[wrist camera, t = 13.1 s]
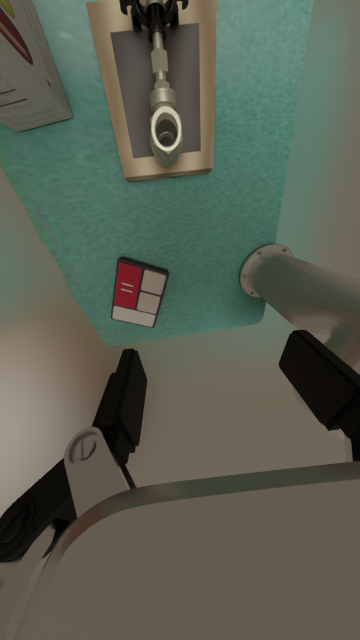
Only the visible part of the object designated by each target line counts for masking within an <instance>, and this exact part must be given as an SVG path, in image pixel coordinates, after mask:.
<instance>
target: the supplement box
mask: <svg viewBox="0 0 360 640" xmlns="http://www.w3.org/2000/svg"><path fill="white" fill-rule="evenodd" d="M72 117H73V114H72V111H71V109H70V106H69V103H68V100H67V98H66V95H65V92H64V89H63V86H62V84H61V81H60V78H59V75H58V73H57V70H56V67H55V64H54V61H53V59H52V56H51V53H50V50H49V47H48V45H47V42H46V39H45V36H44V33H43V31H42V28H41V25H40V22H39V20H38V17H37V14H36V11H35V9H34V6H33V4H32V1H31V0H0V122H2V123H3V124H5V125H7V126H9V127H10V128H12V129H14V130H16V131H18V132H20V131H24V130H28V129H32V128H35V127H39V126H43V125H46V124H50V123H54V122H58V121H62V120H66V119H69V118H72Z"/></svg>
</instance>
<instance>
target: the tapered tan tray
mask: <svg viewBox="0 0 360 640" xmlns="http://www.w3.org/2000/svg"><path fill="white" fill-rule="evenodd" d="M166 2H167V0H163V3H164V4H165V3H166ZM140 3H141V4H142V5H143V6H145V5H146V0H140ZM177 4H178V9H179V26H178V28H177V29H175V30H172V29H170V23H169V24H168V25H167V26H166V29H167V38H166V40H165V41H164V43H163V49H164V50H166V51H167V61H168V79H166V81H167V82H168V83H169V88H171V89H173V90H174V91H175V95H176V109H175V111H176V112H177V113H178V114H179V115H180V116H181V130H182V134H183V147H182V151H181V154H180V156H179V158H178V159H177V160H176V161H175V162H174V163H173V164H172V165H171V166H170V167H169V168H168V167H167V166H165V165H163V164H162V163H160V162H159V161H157V159H156V157H155V155H154V153H153V151H152V148H151V143H150V132H151V121H150V118H151V117H152V116H153V114H154V113H153V112H152V110H151V103H150V94H151V92H152V91H153V90H154V89H155V87H154V84H155V83H156V80H154V77H153V68H152V58H151V52H152V51H153V50H154V47H153V44H152V43H150V41H149V40H148V36H147V27H145V26H143V25H142V24H141V26H142V32H141V33H136V32H134V30H133V28H132V21H131V13H130V10H131V8H132V6H127V11H128V15H124V14H123V13H122V12H121V9H120V3H119V0H105V1H96V2H88V3H86V6H87V11H88V15H89V20H90V24H91V29H92V33H93V38H94V43H95V47H96V52H97V56H98V61H99V66H100V70H101V75H102V79H103V84H104V88H105V93H106V98H107V102H108V107H109V111H110V116H111V120H112V125H113V130H114V134H115V139H116V143H117V148H118V153H119V157H120V162H121V166H122V171H123V175H124V178H125V179H126V180H127V181H128V182H135V181H144V180H153V179H162V178H171V177H180V176H189V175H198V174H207V173H209V172H210V171H211V170H212V169H213V167H214V115H215V63H216V10H217V0H189V3H188V6H187V8H186V9H184V10H182V1H177ZM160 143H161V144H162V145H164V146H170V145H172V144H173V143H174V142H173V141H172V139H170V138H168V137H164V138H162V139H161V141H160Z"/></svg>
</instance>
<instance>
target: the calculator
mask: <svg viewBox="0 0 360 640" xmlns="http://www.w3.org/2000/svg"><path fill="white" fill-rule="evenodd" d="M168 276H169V272H168V270H165V269H162V268H158V267H155V266H152V265H148V264H145V263H142V262H138V261H135V260H132V259H129V258H125V257H120V258H119V259H118V260H117V269H116V277H115V286H114V294H113V303H112V312H111V319H114V320H118V321H123V322H128V323H132V324H137V325H142V326H146V327H151V328H154V326H155V322H156V319H157V315H158V312H159V308H160V304H161V301H162V297H163V294H164V290H165V287H166V283H167V279H168Z"/></svg>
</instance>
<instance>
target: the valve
mask: <svg viewBox="0 0 360 640" xmlns="http://www.w3.org/2000/svg"><path fill="white" fill-rule="evenodd" d="M177 1H182V10H184V9H186V8H187V6H188V3H189V0H167V2H166V3H165V4H164V3H163V0H146V5H145V6H143V5H142V4H141V3H140V0H119V3H120V9H121V12H122V13H123V14H124V15H128V11H127V6H132V8H131V10H130V13H131V21H132V28H133V30H134V32H136V33H141V32H142V26H141V24H142V25H143V26H145V27H147V36H148V40H149V41H150V43H152V44H153V47H154V50H153V51H152V52H151V58H152V68H153V77H154V80H156V83H155V84H154V87H155V89H154V90H153V91H152V92H151V94H150V103H151V110H152V112H153V113H154V114H153V116H152V117H151V118H150V121H151V132H150V143H151V148H152V151H153V153H154V155H155V157H156V159H157V161H159V162H160V163H162V164H163V165H165V166H167V167H168V168H169V167H170V166H171V165H172V164H173V163H174V162H175V161H176V160H177V159H178V158H179V156H180V154H181V151H182V147H183V134H182V130H181V116H180V115H179V114H178V113H177V112H176V111H175V109H176V95H175V91H174V90H173V89H171V88H169V83H168V82H167V81H166V79H168V61H167V51H166V50H164V49H163V43H164V41H165V40H166V38H167V29H166V26H167V25H168V24H169V23H170V29H172V30H175V29H177V28H178V26H179V9H178V4H177ZM164 137H168V138H170V139H172V141H173V142H174V143H173V144H172V145H170V146H164V145H162V144H161V143H160V141H161V139H162V138H164Z"/></svg>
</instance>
